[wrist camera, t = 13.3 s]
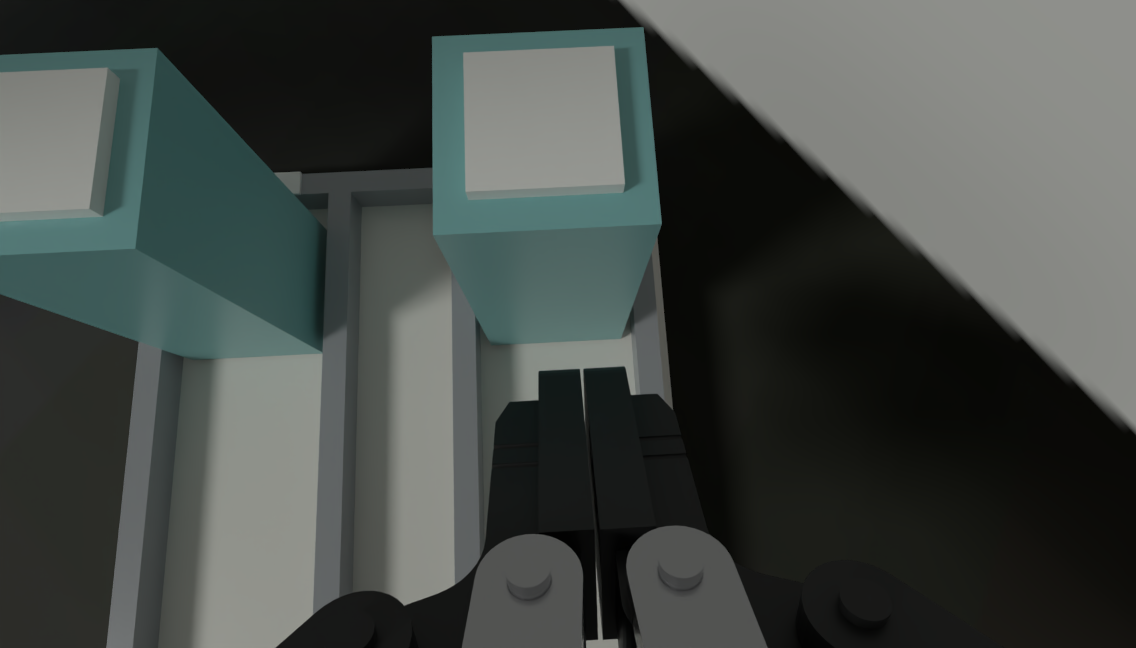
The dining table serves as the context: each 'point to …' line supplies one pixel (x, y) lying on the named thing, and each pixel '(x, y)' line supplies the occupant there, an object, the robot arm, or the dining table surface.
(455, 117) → the tab
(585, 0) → the dining table surface
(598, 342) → the switch board
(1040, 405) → the dining table surface
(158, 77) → the tab
